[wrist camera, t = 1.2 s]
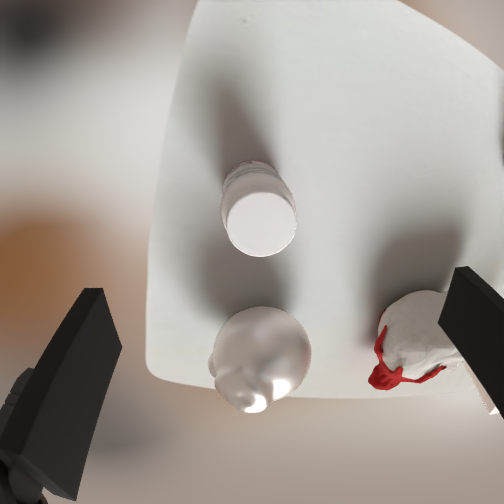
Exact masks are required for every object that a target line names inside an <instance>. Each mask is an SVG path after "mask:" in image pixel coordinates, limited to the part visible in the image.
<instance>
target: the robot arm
mask: <svg viewBox="0 0 504 504" xmlns="http://www.w3.org/2000/svg"><path fill="white" fill-rule="evenodd" d="M438 324H439V326H440V327H441V328H442V330H443V331H444V332H445V334H446V335H447V336H448V338H449V339H450V340H451V342H452V343H453V344H454V346H455V347H456V349H457V350H458V351H459V353H460V354H461V355H462V357H463V358H464V360H465V361H466V362H467V364H468V365H469V367H470V368H471V370H472V371H473V373H474V374H475V375H476V377H477V378H478V380H479V381H480V383H481V384H482V386H483V387H484V389H485V390H486V392H487V393H488V395H489V397H490V398H491V400H492V401H493V403H494V404H495V406H496V408H497V409H498V411H499V412H500V414H501V416H502V417H503V419H504V299H503V298H502V297H501V296H500V295H499V294H498V293H497V292H496V291H495V290H494V289H493V288H492V287H491V286H490V285H489V284H487V283H486V282H485V281H484V280H483V279H482V278H481V277H480V276H479V275H478V274H476V273H475V272H474V271H473V270H472V269H471V268H470V267H468V266H465V267H455V270H454V274H453V277H452V280H451V284H450V287H449V290H448V293H447V297H446V300H445V303H444V306H443V309H442V311H441V314H440V317H439V320H438ZM121 350H122V345H121V342H120V340H119V337H118V334H117V331H116V328H115V326H114V323H113V319H112V316H111V313H110V310H109V307H108V304H107V301H106V297H105V294H104V291H103V288H84V290H83V291H82V292H81V294H80V295H79V297H78V298H77V300H76V301H75V303H74V304H73V306H72V307H71V309H70V310H69V312H68V313H67V315H66V317H65V318H64V320H63V321H62V323H61V324H60V326H59V328H58V329H57V331H56V333H55V334H54V336H53V337H52V339H51V341H50V343H49V344H48V346H47V348H46V349H45V351H44V353H43V354H42V356H41V358H40V360H39V361H38V363H37V365H36V367H35V368H34V369H33V368H28V369H26V370H25V371H24V372H23V373H22V374H21V375H20V376H19V377H18V378H17V380H16V382H15V383H14V385H13V387H12V389H11V391H10V392H11V393H10V394H8V396H7V398H6V400H5V404H3V406H2V408H1V410H0V504H48V502H47V500H46V498H45V497H44V495H43V494H42V489H43V487H45V488H46V489H47V490H49V491H50V492H51V493H52V494H54V495H57V496H60V497H63V498H66V499H70V500H73V501H76V499H77V494H78V490H79V486H80V481H81V477H82V474H83V470H84V466H85V462H86V458H87V454H88V451H89V447H90V444H91V440H92V437H93V433H94V430H95V427H96V423H97V420H98V417H99V414H100V411H101V407H102V404H103V401H104V398H105V395H106V392H107V389H108V386H109V383H110V380H111V377H112V374H113V372H114V369H115V366H116V363H117V360H118V358H119V355H120V352H121Z"/></svg>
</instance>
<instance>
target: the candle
mask: <svg viewBox="0 0 504 504" xmlns="http://www.w3.org/2000/svg"><path fill="white" fill-rule="evenodd" d="M447 293H448V291H445V292H442V293H438V292H436V291H431V290H421V291H416V292H412V293H410V294H407V295H405V296H404V297H402V298H401V299H399V300H398V301H396V302H395V303H393V304H392V305H390V306H389V307H388V308H387V309H384V311H383V313H382V315H381V317H380V320H379V325H378V338H377V340H376V343H375V346H374V351H375V353H376V354H377V357H378V359H379V364H378V365H377V366H375V368H374V369H373V372H372V374H371V375H370V377H369V379H368V382H369V384H371V385H372V386H373V387H374V388H375V389H379V390H390V389H392V388H393V387H395V386H397V385H399V383H400V382H413V383H422V382H425V381H426V380H428V379H430V378H433V377H434V376H436V375H437V374H438V373H439V372H440V371H441V370H450V371H453V370H455V369H456V367H457V366H458V365H459V364H460V363H461V362H462V361H463V360H464V358H463V357H462V355H461V354H460V353H459V351H458V350H457V349H456V347H455V346H454V344H453V343H452V342H451V340H450V339H449V338H448V336H447V335H446V334H445V332H444V331H443V330H442V328H441V327H440V326H439V324H438V320H439V317H440V314H441V311H442V309H443V306H444V303H445V300H446V297H447Z"/></svg>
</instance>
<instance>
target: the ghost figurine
mask: <svg viewBox="0 0 504 504" xmlns="http://www.w3.org/2000/svg"><path fill="white" fill-rule="evenodd" d="M310 363H311V345H310V341H309V338H308V335H307V333H306V331H305V330H304V328H303V327H302V325H301V324H300V323H299V322H298V321H297V320H296V319H295V318H294V317H293V316H291V315H290V314H288V313H286V312H284V311H282V310H280V309H277V308H273V307H263V306H262V307H253V308H248V309H245V310H243V311H241V312H239V313H237V314H235V315H234V316H232V317H231V318H230V319H229V320H228V321H227V322H226V323H225V324H224V325H223V327H222V328H221V329H220V331H219V333H218V335H217V337H216V340H215V344H214V350H213V353H212V354H211V355H210V357H209V360H208V367H209V371H210V373H211V374H212V376H213V377H215V387H216V389H217V391H218V392H219V394H220V395H221V396H222V397H223V398H224V399H225V400H226V401H228V402H229V403H230V404H231V405H233V406H234V407H236V408H237V409H238V410H240V411H242V412H247V413H248V412H249V413H258V412H261V411H263V410H265V409H266V408H267V407H268V406H269V404H270V403H271V402H272V401H274V400H278V399H281V398H283V397H285V396H287V395H288V394H290V393H291V392H293V391H294V390H295V389H296V388H297V387H298V386H299V385H300V384H301V383H302V381H303V380H304V378H305V377H306V375H307V373H308V370H309V367H310Z"/></svg>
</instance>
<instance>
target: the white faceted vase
mask: <svg viewBox="0 0 504 504" xmlns="http://www.w3.org/2000/svg"><path fill="white" fill-rule="evenodd" d="M462 362H463V364H464V366H465V368H466V370H467V371H468V373H469V375H470V377H471V379H472V381H473V383H474V385H475V386H476V388H477V390H478V392H479V394H480V396H481V398H482V400H483V402H484V404H485V406H486V408H487V410H488V412H489V414H495V413H500V412H499V411H498V409H497V408H496V406H495V404H494V403H493V401H492V400H491V398H490V397H489V395H488V393H487V392H486V390H485V389H484V387H483V386H482V384H481V383H480V381H479V380H478V378H477V377H476V375H475V374H474V373H473V371H472V370H471V368H470V367H469V365H468V364H467V362H466V361H465V360H463V361H462Z"/></svg>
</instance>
